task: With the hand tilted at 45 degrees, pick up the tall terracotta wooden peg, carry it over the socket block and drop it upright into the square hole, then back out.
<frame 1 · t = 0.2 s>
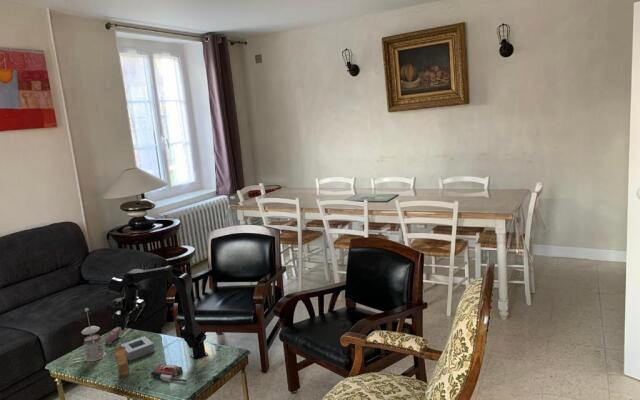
hand: (128, 325, 228), 15 cm above the table, tool tilted 15°, fingers open, 9 cm apart
socket block: (138, 351, 234), on the table
french press: (95, 355, 235), on the table
peg: (124, 374, 214), on the table
video game controller: (114, 340, 250), on the table
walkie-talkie: (172, 377, 209), on the table
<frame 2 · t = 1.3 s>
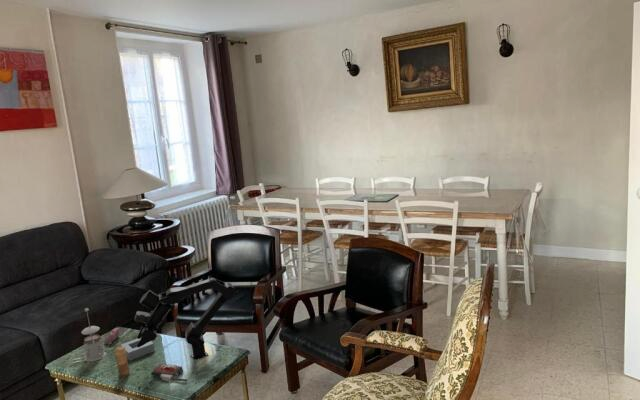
hand: (137, 342, 214), 13 cm above the table, tool tilted 45°, fingers open, 9 cm apart
nothing on the table moved.
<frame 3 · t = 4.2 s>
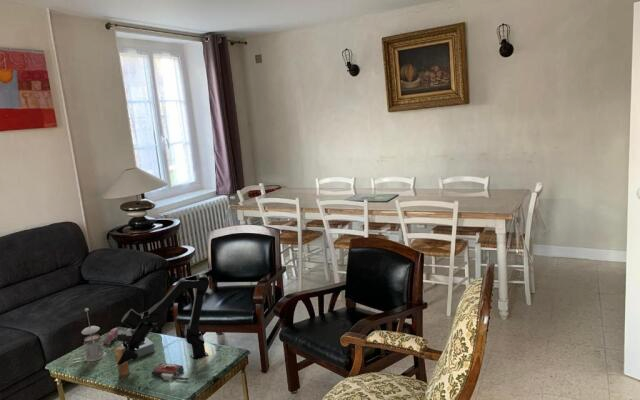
hand: (118, 362, 212), 7 cm above the table, tool tilted 45°, fingers closed on peg, 4 cm apart
peg: (124, 374, 214), on the table, touching gripper
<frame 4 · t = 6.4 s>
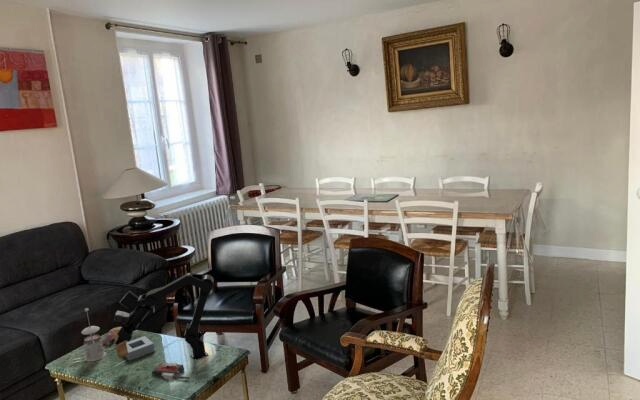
hand: (117, 341, 216), 14 cm above the table, tool tilted 45°, fingers closed on peg, 4 cm apart
peg: (122, 354, 218), point 7 cm above the table, touching gripper
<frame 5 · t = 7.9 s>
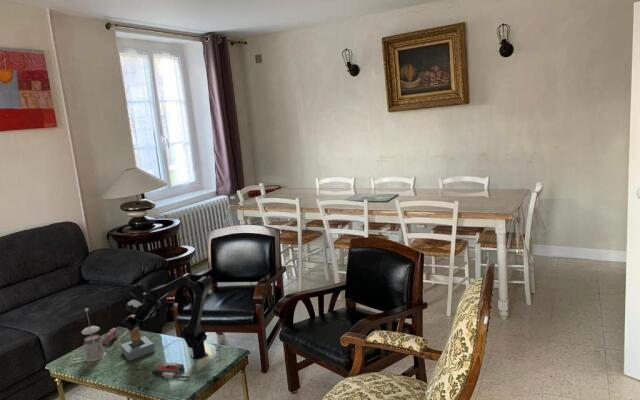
hand: (131, 327, 233), 12 cm above the table, tool tilted 45°, fingers closed on peg, 4 cm apart
peg: (136, 340, 233), point 6 cm above the table, touching gripper
when the fingers open (8 cm above the table, at t = 9.0 s): peg drops 2 cm, resting in socket block.
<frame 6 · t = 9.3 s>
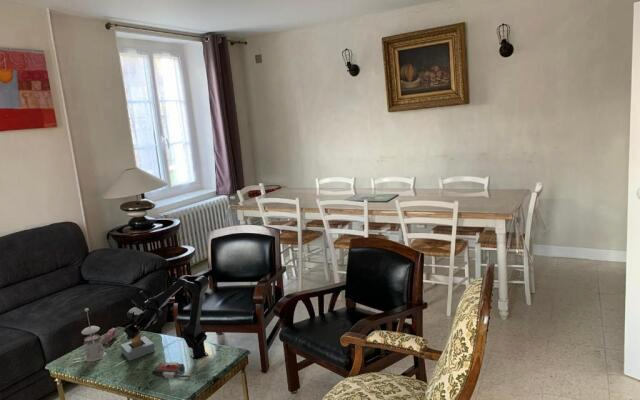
hand: (132, 335, 233), 9 cm above the table, tool tilted 45°, fingers open, 7 cm apart
peg: (138, 351, 234), resting in socket block
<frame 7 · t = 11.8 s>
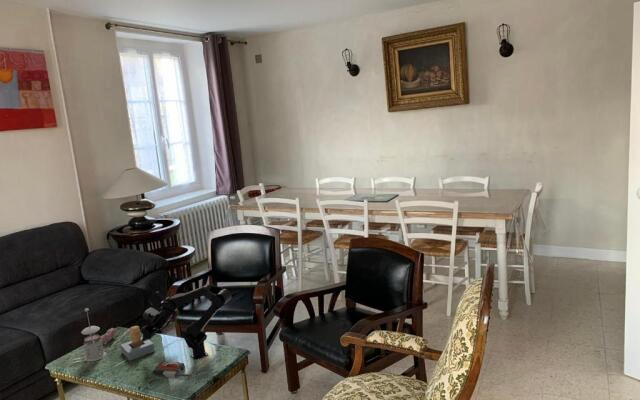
hand: (148, 336, 231), 9 cm above the table, tool tilted 45°, fingers open, 9 cm apart
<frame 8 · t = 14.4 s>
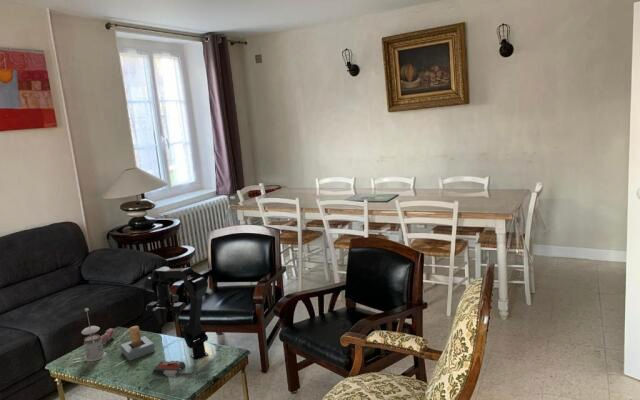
hand: (168, 323, 233), 13 cm above the table, tool pointing down, fingers open, 9 cm apart
at the end: peg 0.0 cm off-centre on the socket block, point 0.0 cm above the socket block's base; peg tilted 1°; the gripper is holding nothing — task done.
